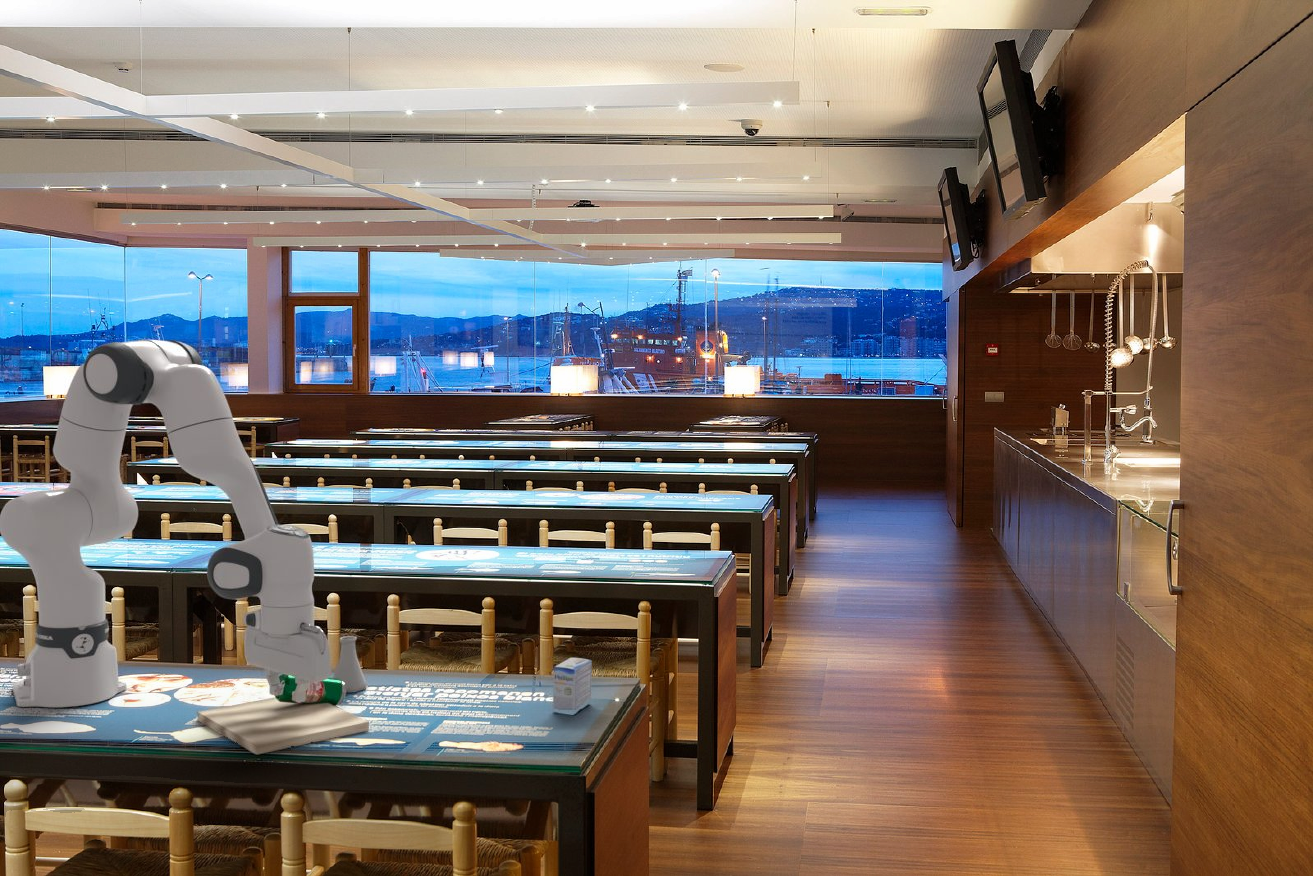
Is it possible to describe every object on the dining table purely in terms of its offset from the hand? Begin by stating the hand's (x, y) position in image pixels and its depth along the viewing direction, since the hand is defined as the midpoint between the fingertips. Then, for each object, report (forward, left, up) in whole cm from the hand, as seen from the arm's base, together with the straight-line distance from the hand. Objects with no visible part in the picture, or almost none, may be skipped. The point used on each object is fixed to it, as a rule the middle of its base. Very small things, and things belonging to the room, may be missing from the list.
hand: (287, 698), depth 206 cm
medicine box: (+24, +44, -5) cm, 50 cm away
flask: (-14, +19, -5) cm, 24 cm away
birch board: (0, -1, -5) cm, 5 cm away
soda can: (-5, +1, +1) cm, 5 cm away
